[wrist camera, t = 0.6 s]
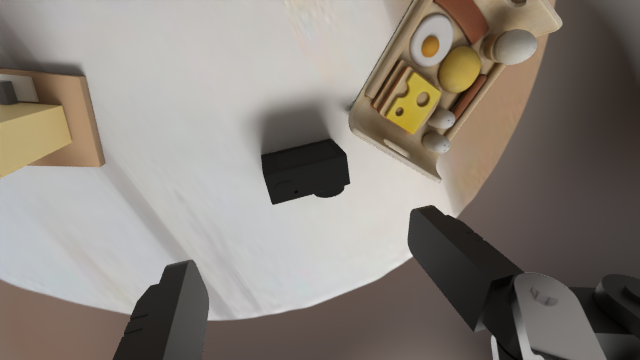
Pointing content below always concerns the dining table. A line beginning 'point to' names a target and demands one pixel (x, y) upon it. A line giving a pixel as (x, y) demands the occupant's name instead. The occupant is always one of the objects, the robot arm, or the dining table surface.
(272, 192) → the digital camera
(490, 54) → the toy food set
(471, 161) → the dining table surface
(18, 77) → the base
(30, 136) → the block
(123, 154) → the dining table surface
